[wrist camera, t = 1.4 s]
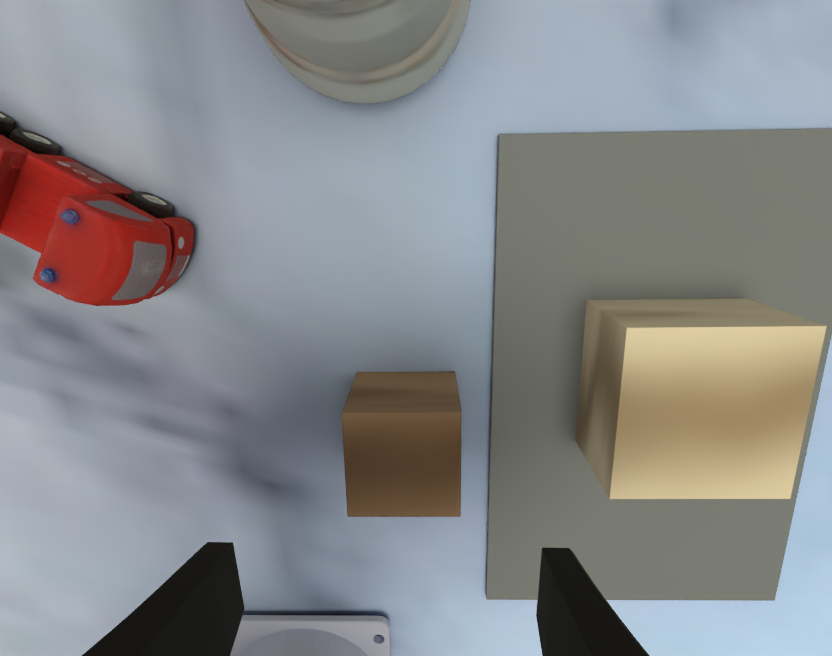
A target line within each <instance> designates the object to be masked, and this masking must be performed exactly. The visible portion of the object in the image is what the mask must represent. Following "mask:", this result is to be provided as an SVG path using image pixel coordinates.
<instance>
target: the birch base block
mask: <svg viewBox="0 0 832 656" xmlns="http://www.w3.org/2000/svg"><path fill="white" fill-rule="evenodd" d="M826 327H827V326H825V325H822V324H819V323H816V322H813V321H810V320H807V319H805V318H802V317H799V316H796V315H793V314H790V313H787V312H784V311H781V310H778V309H775V308H772V307H769V306H766V305H763V304H761V303H758V302H755V301H752V300H749V299H746V298H738V299H641V300H587V301H586V314H585V327H584V340H583V353H582V366H581V379H580V392H579V404H578V417H577V430H576V443H577V445H578V446H579V448H580V450H581V452H582V453H583V455H584V457H585V458H586V460H587V462H588V463H589V465H590V467H591V468H592V470H593V472H594V473H595V475H596V477H597V479H598V480H599V482H600V484H601V485H602V487H603V489H604V490H605V492H606V494H607V495H608V497H609V499H790V498H791V493H792V488H793V484H794V479H795V474H796V469H797V465H798V460H799V455H800V450H801V446H802V441H803V436H804V431H805V427H806V422H807V417H808V412H809V408H810V403H811V398H812V393H813V389H814V384H815V379H816V374H817V370H818V365H819V360H820V355H821V351H822V346H823V341H824V336H825V332H826Z"/></svg>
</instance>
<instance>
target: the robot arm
mask: <svg viewBox="0 0 832 656" xmlns="http://www.w3.org/2000/svg"><path fill="white" fill-rule="evenodd" d="M243 612H244V604H243V598H242V592H241V587H240V581H239V575H238V569H237V564H236V558H235V552H234V546H233V543H223V542H207V543H206V544H205V545H204V546H203V547H202V548H201V549H200V550H199V551H198V552H197V553H195V554H194V555H193V556H192V557H191V558H190V559H189V560H188V561H187V562H186V563H185V564H184V565H183V566H182V567H181V568H179V569H178V570H177V571H176V572H175V573H174V574H173V575H172V576H171V577H170V578H169V579H168V580H167V581H166V582H165V583H164V584H163V585H161V586H160V587H159V588H158V589H157V590H156V591H155V592H154V593H153V594H152V595H151V596H150V597H149V598H147V599H146V600H145V601H144V602H143V603H142V604H141V605H140V606H139V607H138V608H137V609H135V610H134V611H133V612H132V613H131V614H130V615H129V616H128V617H127V618H126V619H124V620H123V621H122V622H121V623H120V624H119V625H117V626H116V627H115V628H114V629H113V630H112V631H110V632H109V633H108V634H107V635H106V636H105V637H103V638H102V639H101V640H100V641H99V642H98V643H96V644H95V645H94V646H93V647H92V648H90V649H89V650H88V651H87V652H86V653H85V654H83V655H82V656H391V646H390V624H389V621H388V620H387V618H385V617H383V616H325V615H243ZM536 616H537V622H538V629H539V636H540V642H541V648H542V654H543V656H649V655H648V653H647V652H646V651H645V650H644V649H643V647H642V646H641V645H640V644H639V642H638V641H637V640H636V639H635V637H634V636H633V635H632V634H631V632H630V631H629V630H628V628H627V627H626V626H625V625H624V623H623V622H622V621H621V619H620V618H619V617H618V615H617V614H616V613H615V612H614V610H613V609H612V608H611V606H610V605H609V604H608V602H607V601H606V599H605V598H604V597H603V595H602V594H601V592H600V591H599V590H598V588H597V587H596V585H595V584H594V583H593V581H592V580H591V578H590V577H589V575H588V574H587V572H586V571H585V569H584V568H583V566H582V565H581V563H580V562H579V560H578V559H577V557H576V556H575V554H574V553H573V551H572V550H571V549H569V548H542V552H541V565H540V577H539V590H538V602H537V615H536ZM376 635H382V636H376Z"/></svg>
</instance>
